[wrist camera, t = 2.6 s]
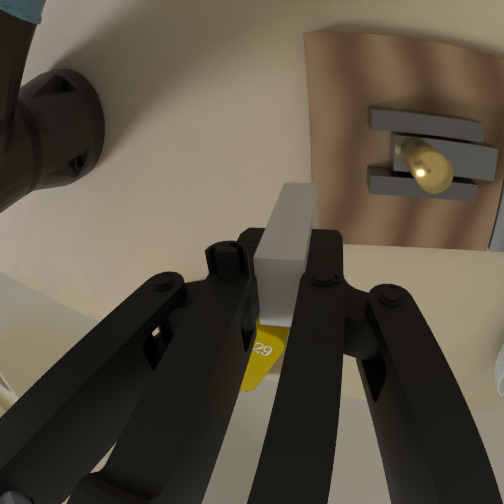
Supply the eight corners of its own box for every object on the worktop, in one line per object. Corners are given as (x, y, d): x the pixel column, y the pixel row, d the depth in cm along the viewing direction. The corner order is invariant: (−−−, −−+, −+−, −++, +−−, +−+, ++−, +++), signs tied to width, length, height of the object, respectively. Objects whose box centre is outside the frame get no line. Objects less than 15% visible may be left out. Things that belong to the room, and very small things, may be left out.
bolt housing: (366, 182, 27) (371, 199, 24) (367, 106, 23) (374, 111, 20) (550, 202, 22) (569, 219, 18) (561, 141, 18) (583, 153, 15)
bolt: (389, 163, 25) (406, 192, 19) (390, 130, 24) (410, 150, 18) (484, 173, 23) (519, 204, 17) (488, 143, 21) (526, 167, 15)
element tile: (171, 339, 49) (160, 360, 45) (188, 274, 41) (173, 297, 37) (256, 374, 49) (250, 398, 46) (294, 318, 41) (289, 345, 37)
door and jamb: (313, 233, 33) (312, 242, 31) (304, 35, 23) (303, 32, 21) (531, 245, 26) (538, 253, 25) (557, 81, 16) (567, 83, 14)
